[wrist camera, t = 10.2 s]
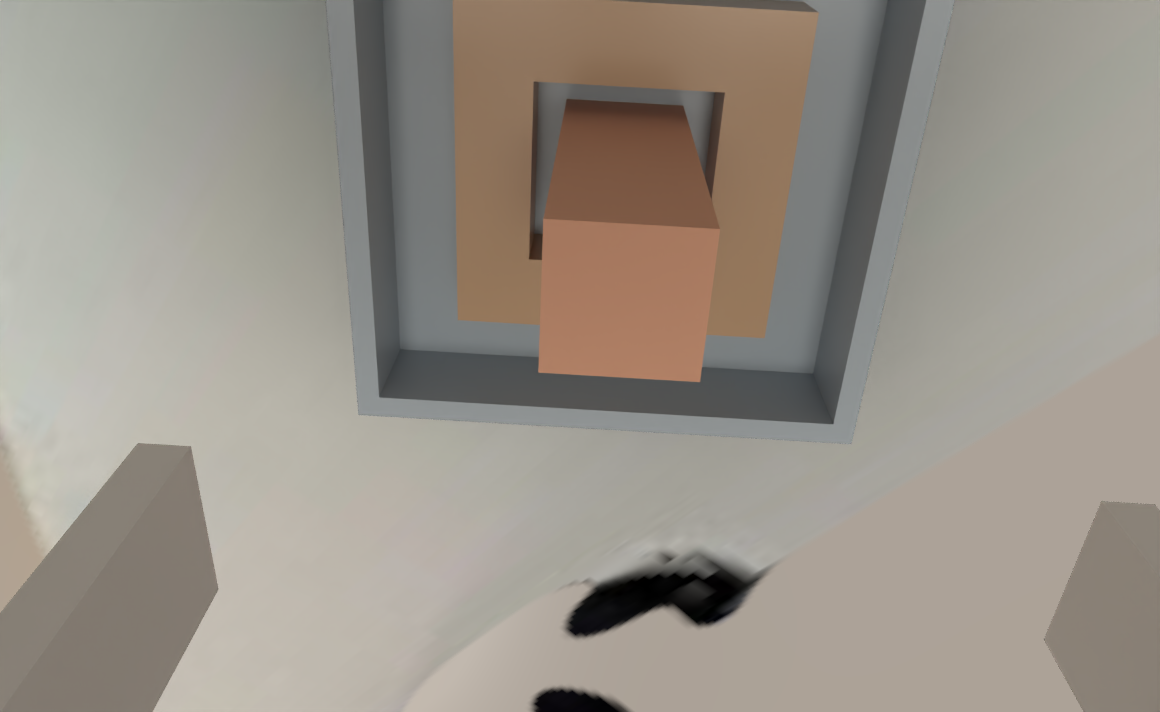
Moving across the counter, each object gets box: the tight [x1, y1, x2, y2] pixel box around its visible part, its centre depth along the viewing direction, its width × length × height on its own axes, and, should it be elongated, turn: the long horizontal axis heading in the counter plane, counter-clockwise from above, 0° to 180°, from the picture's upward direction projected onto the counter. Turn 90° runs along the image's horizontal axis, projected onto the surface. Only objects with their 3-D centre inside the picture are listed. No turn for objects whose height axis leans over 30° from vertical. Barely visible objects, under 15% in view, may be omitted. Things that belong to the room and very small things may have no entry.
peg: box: [538, 99, 720, 382], centre depth 27 cm, size 4×4×12 cm
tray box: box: [326, 0, 955, 444], centre depth 31 cm, size 18×18×4 cm
